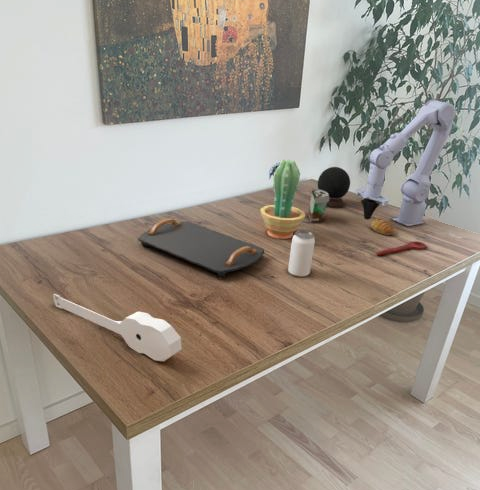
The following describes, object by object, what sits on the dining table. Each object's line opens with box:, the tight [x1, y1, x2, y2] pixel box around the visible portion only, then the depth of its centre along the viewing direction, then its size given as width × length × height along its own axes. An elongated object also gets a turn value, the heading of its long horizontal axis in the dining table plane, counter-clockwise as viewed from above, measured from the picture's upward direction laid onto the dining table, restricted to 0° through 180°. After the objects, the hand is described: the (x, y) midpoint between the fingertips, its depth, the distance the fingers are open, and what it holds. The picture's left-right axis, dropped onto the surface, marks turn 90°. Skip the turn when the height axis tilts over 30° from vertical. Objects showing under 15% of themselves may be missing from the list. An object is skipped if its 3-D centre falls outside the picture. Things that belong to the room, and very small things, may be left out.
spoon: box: [376, 241, 427, 257], centre depth 162 cm, size 23×5×2 cm, turn 122°
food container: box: [308, 187, 329, 224], centre depth 181 cm, size 12×6×10 cm, turn 179°
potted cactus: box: [260, 159, 306, 240], centre depth 161 cm, size 15×15×25 cm
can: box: [287, 230, 316, 278], centre depth 139 cm, size 6×6×12 cm
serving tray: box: [137, 218, 265, 280], centre depth 148 cm, size 39×23×6 cm, turn 53°
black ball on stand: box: [317, 166, 351, 209], centre depth 198 cm, size 13×13×15 cm
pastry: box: [370, 217, 395, 236], centre depth 176 cm, size 9×7×4 cm
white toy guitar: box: [52, 293, 183, 362], centre depth 107 cm, size 38×8×4 cm
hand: (367, 218), depth 182 cm, fingers closed
